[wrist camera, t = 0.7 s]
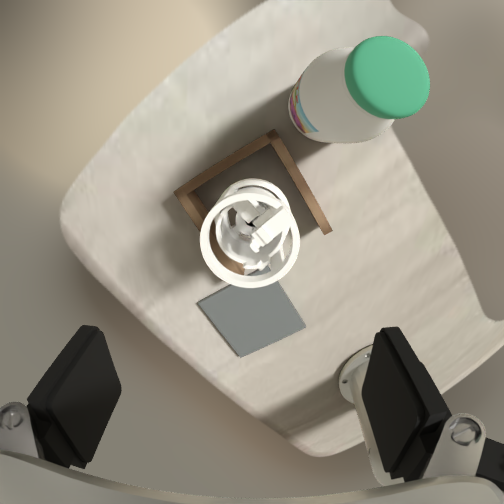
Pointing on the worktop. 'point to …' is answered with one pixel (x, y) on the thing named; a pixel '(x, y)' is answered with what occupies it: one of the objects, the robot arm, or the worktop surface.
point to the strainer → (251, 233)
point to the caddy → (187, 190)
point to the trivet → (252, 315)
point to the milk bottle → (359, 91)
